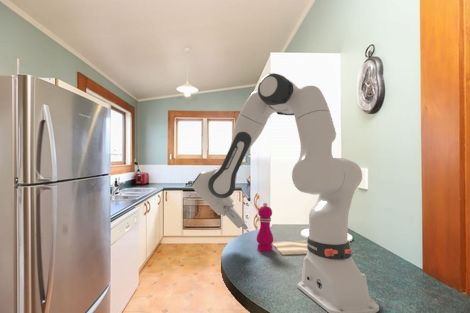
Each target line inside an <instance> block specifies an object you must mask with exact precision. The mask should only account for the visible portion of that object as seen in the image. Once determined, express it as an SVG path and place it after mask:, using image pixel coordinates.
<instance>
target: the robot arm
mask: <svg viewBox="0 0 470 313" xmlns="http://www.w3.org/2000/svg"><path fill="white" fill-rule="evenodd" d="M325 98H326V97H325V96H324V94H323V92H322V91H321V89H320V88H319V87H318V86H315V85H305V86H302V87H300V88H299V87H298V86H297V85H296V84H295V83H294V82H293V81H291V80H290V79H288V78H286V77H285V76H284V75H282V74H279V73H269V74H266V75H265V76H264V77H263V78H261V80H260V81H259V83H258V87H257V91H256V90H255V91H253V92H251V94H250V95H249V96H248V98H247V100H246V101H245V102H244V104H243V106H242V107H241V110H240V112H239V113H238V116H237V118H236V121H235V125H234V128H233V131H232V138H231V143H230V147H229V148H228V151H227V154H226V155H225V158H224V160H223V162H222V164H221V165H220V166H218V167H216V168H213V169H211V170H210V169H209V170H207V171H201V172H200V173H198V175H197V176H196V178H195V179H194V181H193V182H192V189H193V190H194V192H195V193H196V194H197V195H198V197H199V198H200V199H201V200H203V201H204V202H205V203H207V205H208V206H209V207H210V208H211V209H212V211H213V212H215V214H217V216H221V215H222V217H225V216H226V217H227V218H228V220H230V222H232V224H234V225H235V226H236V228H238V229H240V228H242V229H243V230H244V231H245V230H247V228H248V225H247V224H246V221H245V220H244V219H243V217H242V216H241V215H240V214H239V212H238V211H237V210H236V209H235V205H234V204H233V203H234V199H233V198H232V197H231V195H232V194H234V192H235V189H236V182H237V175H238V172H239V170H240V167H241V165H242V163H243V160H244V159H245V156H246V154H247V153H248V151H250V148H251V147H252V146H253V144H254V143H255V142H256V141H257V140H258V138H259V137H260V135H261V134H262V132H263V130H264V129H265V126H266V125H267V122H268V120H269V119H270V117H271V115H272V114H274V113H276V114H277V115H281V116H294V121H295V124H296V128H297V132H298V138H299V142H300V153H299V157H298V160H297V162H296V163H295V164H294V166H293V168H292V171H291V178H292V180H291V181H292V183H293V185H294V187H295V188H296V189H297V190H298V191H299V192H301V193H304V194H310V195H314V196H315V195H316V196H317V195H318V198H317V201H316V203H315V204H314V206H312V208H311V209H310V210H309V214H308V224H309V225H308V228H309V236H308V239H306V240H307V249H308V253H307V255H304V258H303V262H302V270H301V271H302V272H301V280H300V281H299V282H297V288H298V289H299V290H301V292H303V293H304V294H305V295H306V296H307V297H309V299H311V300H312V301H314V302H315V303H316V304H317V305H319V307H321V308H322V309H323V310H325V311H326V312H328V313H378V312H379V311H380V306H379V304H378V303H377V302H376V301H375V300H374V299H373V298H372V296H370V294H369V287H368V282H367V276H366V274H365V273H362V272H361V271H360V269H359V268H358V266H357V264H356V263H355V261H354V260H353V258H352V255H353V254H354V251H353V249H352V248H351V245H350V242H349V241H348V234H349V232H348V230H349V227H348V226H349V213H350V209H351V205H352V202H353V197H354V195H355V192H356V190H357V188H358V187H359V186H360V184H361V183H362V180H363V172H362V169H361V167H360V165H359V164H358V163H356V162H355V161H352V160H350V159H347V158H343V157H342V158H341V157H333V153H332V152H333V151H332V148H333V143H334V141H335V140H336V138H337V133H336V128H335V124H334V121H333V118H332V114H331V111H330V108H329V105H328V103H327V100H326V99H325Z"/></svg>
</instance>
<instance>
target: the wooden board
mask: <svg viewBox="0 0 470 313" xmlns="http://www.w3.org/2000/svg"><path fill="white" fill-rule="evenodd" d="M307 240H308V239H306V240H288V241H287V240H286V241H285V240H283V241H282V240H281V241H280V240H279V241H273V242H272V244H271V245H272V247H273V248H274V249H276V251H277V252H278V253H279V254H280V255H281V256H282V257H284V256H303V255H304V256H306V255H307V253H308V249H307Z"/></svg>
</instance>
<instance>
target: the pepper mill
mask: <svg viewBox="0 0 470 313" xmlns="http://www.w3.org/2000/svg"><path fill="white" fill-rule="evenodd" d="M257 210H258V212H257V214H258V216H259V218H258V219H259V220H258V221H259V222H260V227H259V230H258V233H257V235H256V239H255V240H256V242H257V251H259V252H263V253H267V252H268V253H269V252H272V251H273V245H272V242H274V235H273V233H272V229H271V221H272V218H271V217H272V215H273V210H272V208H271V207H269V206H268V203H267V202H263V204H262V206H261V207H259V208H258V209H257Z"/></svg>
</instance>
